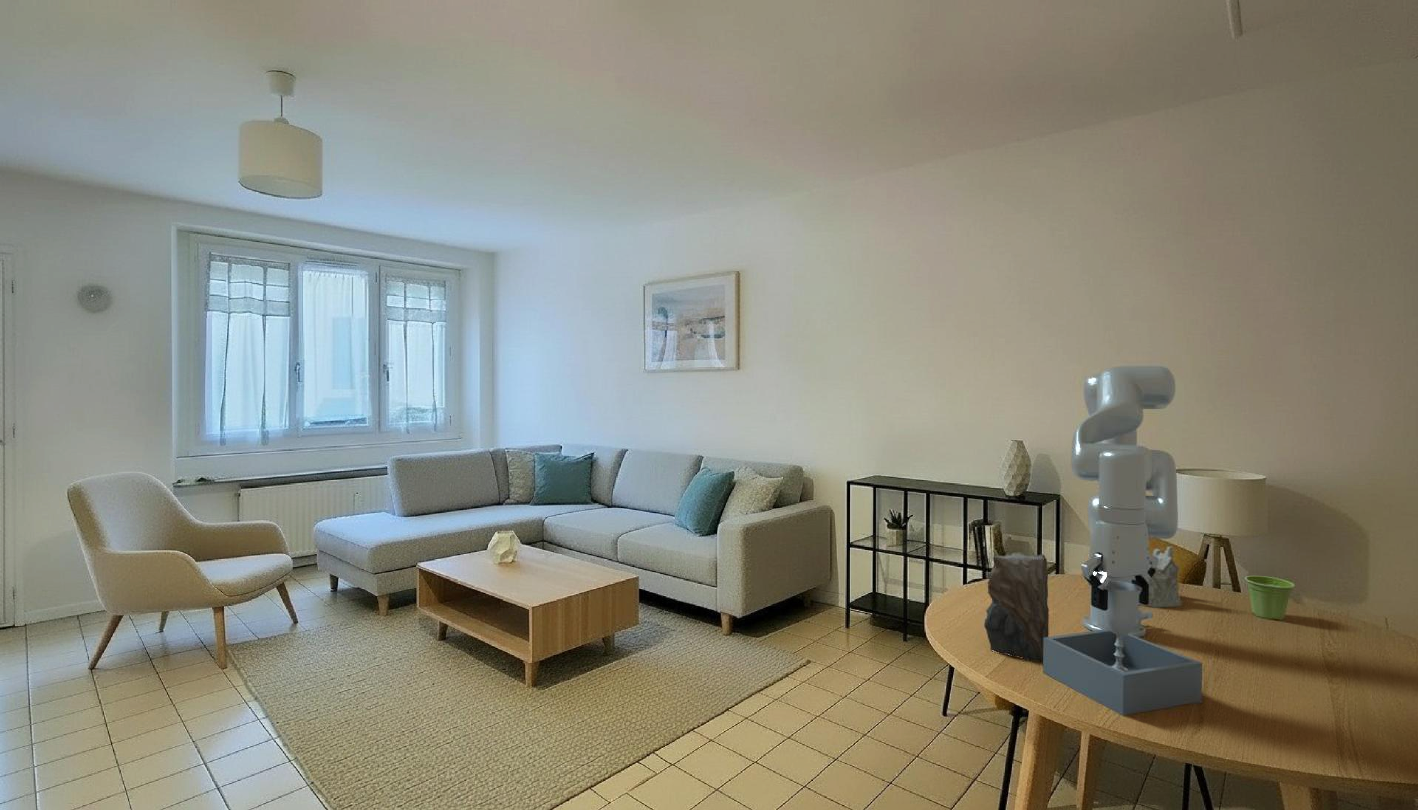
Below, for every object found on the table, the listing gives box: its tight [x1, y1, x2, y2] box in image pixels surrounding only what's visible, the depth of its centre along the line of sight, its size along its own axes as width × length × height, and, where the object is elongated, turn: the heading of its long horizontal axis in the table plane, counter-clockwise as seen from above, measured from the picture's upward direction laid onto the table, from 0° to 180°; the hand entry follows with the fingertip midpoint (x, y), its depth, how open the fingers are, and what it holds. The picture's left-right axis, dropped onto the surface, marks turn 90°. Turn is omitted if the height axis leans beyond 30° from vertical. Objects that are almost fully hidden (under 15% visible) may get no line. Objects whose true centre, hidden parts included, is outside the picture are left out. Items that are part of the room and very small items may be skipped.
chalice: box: [1102, 580, 1142, 672], centre depth 127 cm, size 7×7×18 cm
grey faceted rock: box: [983, 551, 1050, 663], centre depth 145 cm, size 13×13×20 cm
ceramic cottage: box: [1139, 546, 1182, 608], centre depth 180 cm, size 16×16×15 cm
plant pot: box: [1244, 575, 1295, 621], centre depth 165 cm, size 9×9×9 cm
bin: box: [1042, 629, 1203, 716], centre depth 127 cm, size 18×18×7 cm
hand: (1119, 605), depth 127 cm, fingers open, 9 cm apart
